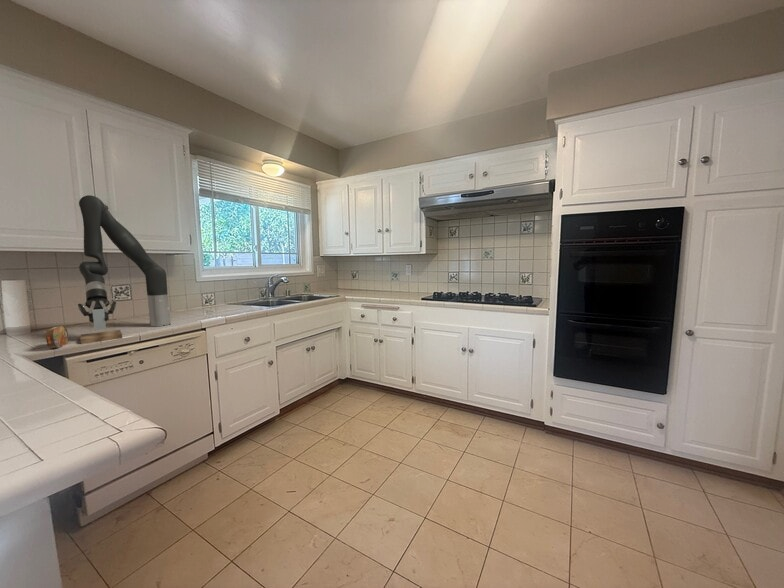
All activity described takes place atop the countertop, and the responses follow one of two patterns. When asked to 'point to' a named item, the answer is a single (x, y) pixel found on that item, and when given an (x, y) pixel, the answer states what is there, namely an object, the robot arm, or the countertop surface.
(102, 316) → the slate block
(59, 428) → the countertop surface
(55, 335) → the tin
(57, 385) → the countertop surface
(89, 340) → the walnut board
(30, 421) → the countertop surface
